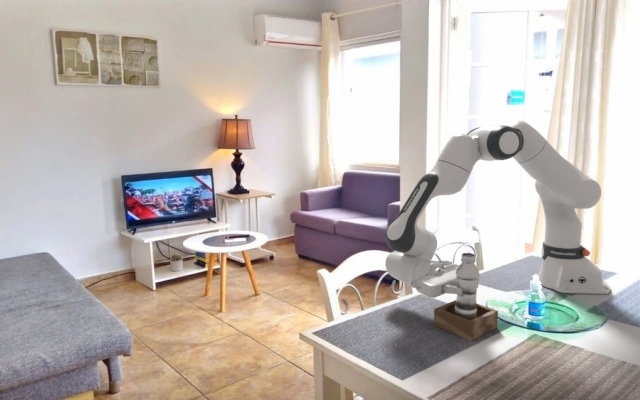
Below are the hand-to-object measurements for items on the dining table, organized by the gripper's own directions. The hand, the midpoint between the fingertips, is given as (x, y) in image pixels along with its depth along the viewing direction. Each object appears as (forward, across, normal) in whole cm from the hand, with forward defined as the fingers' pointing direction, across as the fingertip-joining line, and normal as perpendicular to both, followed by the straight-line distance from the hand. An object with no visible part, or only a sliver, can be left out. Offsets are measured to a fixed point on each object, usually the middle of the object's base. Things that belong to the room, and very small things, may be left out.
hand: (469, 288), depth 139 cm
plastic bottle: (-1, 0, +11) cm, 11 cm away
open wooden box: (-1, 0, +12) cm, 12 cm away
